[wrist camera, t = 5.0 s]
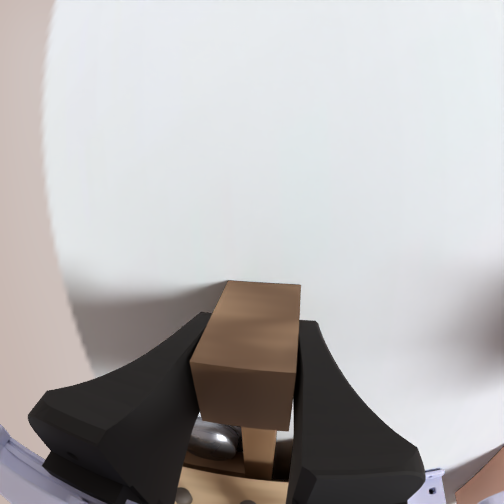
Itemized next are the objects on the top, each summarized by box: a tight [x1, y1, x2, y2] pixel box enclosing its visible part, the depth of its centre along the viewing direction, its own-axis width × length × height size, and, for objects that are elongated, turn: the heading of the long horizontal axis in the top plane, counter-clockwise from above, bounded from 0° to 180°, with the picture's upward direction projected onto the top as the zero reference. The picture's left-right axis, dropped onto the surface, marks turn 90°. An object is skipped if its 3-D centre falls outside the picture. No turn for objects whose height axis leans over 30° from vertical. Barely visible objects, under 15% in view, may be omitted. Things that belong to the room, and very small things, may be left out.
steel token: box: [187, 417, 239, 461], centre depth 17 cm, size 4×4×1 cm
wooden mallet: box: [183, 281, 301, 481], centre depth 14 cm, size 7×16×5 cm, turn 1°
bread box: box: [175, 467, 289, 504], centre depth 15 cm, size 10×10×8 cm
